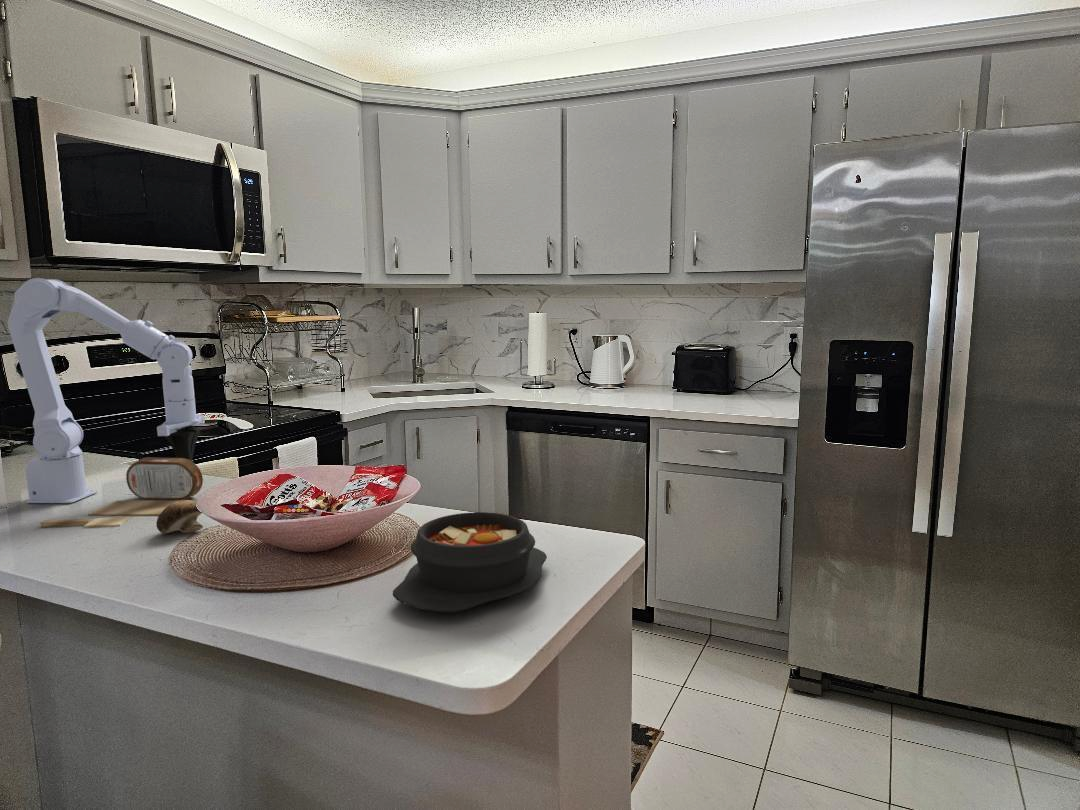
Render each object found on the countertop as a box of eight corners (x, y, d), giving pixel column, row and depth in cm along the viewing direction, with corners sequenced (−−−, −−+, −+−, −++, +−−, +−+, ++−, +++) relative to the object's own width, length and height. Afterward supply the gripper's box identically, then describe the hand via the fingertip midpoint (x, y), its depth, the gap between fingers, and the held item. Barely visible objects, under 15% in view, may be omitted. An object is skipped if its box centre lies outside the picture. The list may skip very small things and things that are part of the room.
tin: (205, 497, 144) (201, 456, 143) (196, 501, 141) (192, 460, 140) (136, 496, 146) (131, 456, 144) (125, 500, 142) (121, 459, 141)
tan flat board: (87, 515, 133) (87, 513, 133) (117, 502, 141) (117, 500, 141) (175, 515, 132) (175, 514, 132) (199, 502, 140) (199, 500, 140)
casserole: (476, 640, 83) (473, 571, 81) (359, 606, 92) (356, 544, 91) (576, 568, 104) (576, 513, 103) (473, 546, 113) (472, 496, 112)
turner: (35, 529, 125) (35, 525, 125) (49, 521, 129) (49, 517, 129) (120, 526, 126) (119, 522, 126) (131, 518, 131) (130, 514, 131)
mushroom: (217, 514, 121) (195, 485, 121) (174, 542, 117) (150, 512, 116) (212, 525, 128) (190, 497, 128) (170, 552, 123) (148, 523, 123)
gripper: (178, 405, 141) (185, 471, 143) (215, 394, 155) (221, 455, 157) (144, 405, 141) (151, 471, 143) (184, 394, 156) (190, 455, 158)
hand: (185, 463), depth 150 cm, fingers closed
